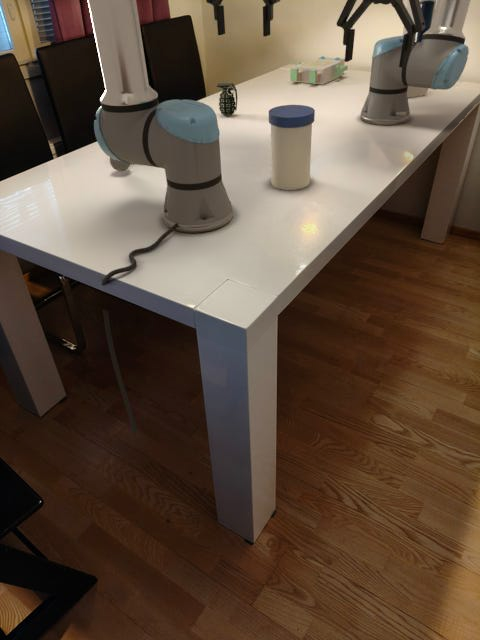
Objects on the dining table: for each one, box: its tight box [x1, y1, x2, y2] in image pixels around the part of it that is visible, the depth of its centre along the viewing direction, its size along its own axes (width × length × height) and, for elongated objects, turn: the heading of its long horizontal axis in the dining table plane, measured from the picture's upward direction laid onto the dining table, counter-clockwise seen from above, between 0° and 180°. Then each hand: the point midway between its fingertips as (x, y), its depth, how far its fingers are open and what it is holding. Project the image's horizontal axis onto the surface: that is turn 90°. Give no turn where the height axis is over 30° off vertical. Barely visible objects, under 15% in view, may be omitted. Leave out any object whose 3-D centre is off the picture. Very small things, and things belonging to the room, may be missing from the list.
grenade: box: [215, 82, 238, 117], centre depth 166 cm, size 7×6×10 cm
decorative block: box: [290, 56, 349, 85], centre depth 205 cm, size 26×6×20 cm
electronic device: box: [402, 0, 437, 98], centre depth 170 cm, size 12×8×30 cm, turn 105°
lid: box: [268, 104, 316, 128], centre depth 111 cm, size 10×10×2 cm
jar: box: [270, 123, 313, 191], centre depth 115 cm, size 9×9×16 cm
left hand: (243, 35), depth 129 cm, fingers open, 13 cm apart
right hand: (374, 63), depth 116 cm, fingers open, 13 cm apart
